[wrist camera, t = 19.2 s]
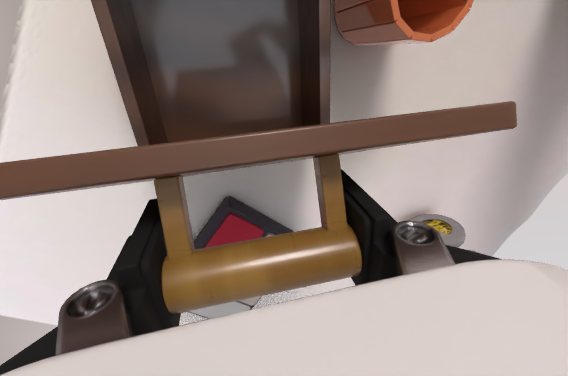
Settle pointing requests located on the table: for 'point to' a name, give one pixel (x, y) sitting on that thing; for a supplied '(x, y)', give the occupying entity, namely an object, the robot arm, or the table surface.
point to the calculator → (229, 229)
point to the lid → (240, 154)
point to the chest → (218, 65)
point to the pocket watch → (439, 221)
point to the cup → (398, 20)
